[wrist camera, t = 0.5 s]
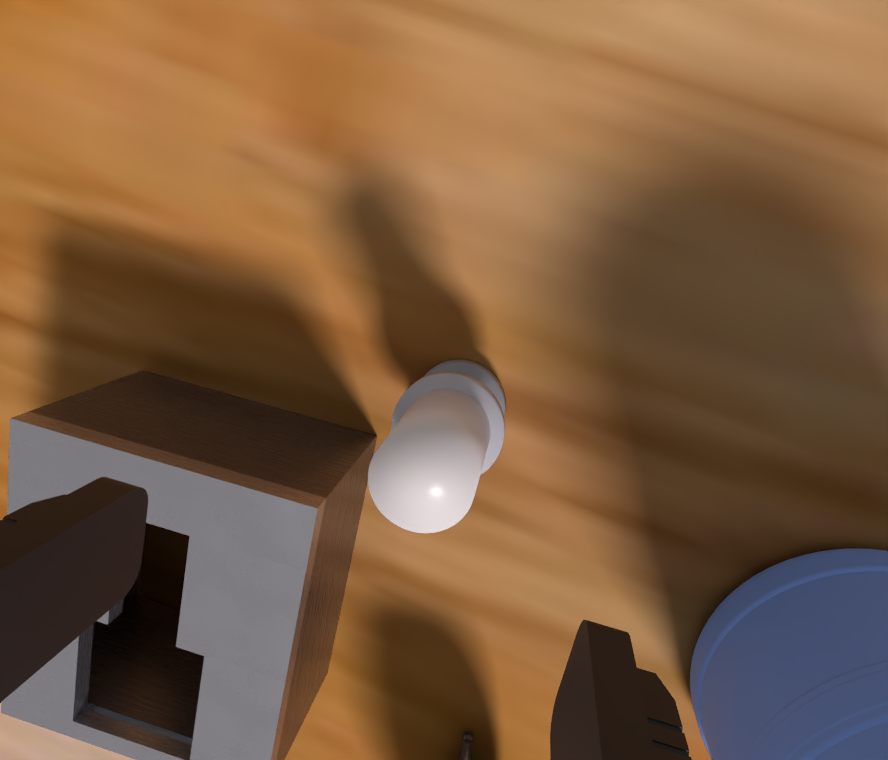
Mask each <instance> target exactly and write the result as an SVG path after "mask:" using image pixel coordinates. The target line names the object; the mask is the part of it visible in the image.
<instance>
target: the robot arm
mask: <svg viewBox="0 0 888 760" xmlns="http://www.w3.org/2000/svg"><path fill="white" fill-rule="evenodd" d="M147 509H148V494H147V492H146V490H145V489H144V488H141V487H138V486H135V485H131V484H128V483H125V482H121V481H118V480H114V479H111V478H108V477H100V478H98V479H96V480H94V481H92V482H90V483H88V484H86V485H85V486H83V487H81V488H79V489H77V490H75V491H73V492H71V493H70V494H68V495H65V494H64V495H60V496H56V497H52V498H48V499H44V500H41V501H37V502H33V503H30V504H28V505H26V506H24V507H22V508H20V509H18V510H16V511H14V512H12V513H10V514H8V515H7V516H5V517H4V518H3V520H2V521H1V520H0V703H1V702H2V701H3V700H4V699H5V698H6V697H8V696H9V695H10V694H11V693H12V692H14V691H15V690H16V689H17V688H18V687H19V686H21V685H22V684H23V683H24V682H25V681H26V680H28V679H29V678H30V677H31V676H32V675H34V674H35V673H36V672H37V671H38V670H39V669H41V668H42V667H43V666H44V665H45V664H46V663H48V662H49V661H50V660H51V659H52V658H54V657H55V656H56V655H57V654H58V653H59V652H61V651H62V650H63V649H64V648H65V647H66V646H68V645H69V644H70V643H71V642H72V641H74V640H75V639H76V638H77V637H78V636H79V635H81V634H82V633H83V632H84V631H85V630H86V629H88V628H89V627H90V626H91V625H92V624H94V623H95V622H96V621H97V620H98V619H99V618H101V617H102V616H103V615H104V614H105V613H106V612H108V611H109V610H110V609H111V608H112V607H114V606H115V605H116V604H117V603H118V602H119V601H121V600H122V599H123V598H124V597H125V596H126V595H127V593H128V592H129V591H130V589H131V588H132V586H133V584H134V582H135V581H136V578H137V576H138V573H139V571H140V567H141V561H142V552H143V544H144V535H145V526H146V517H147ZM682 728H683V727H682V724H681V720H680V717H679V713H678V710H677V706H676V702H675V700H674V698H673V697H672V696H671V694H670V693H669V692H668V690H667V689H666V687H665V686H664V685H663V683H662V682H661V680H660V679H659V678H658V676H657V675H656V673H652V672H649V671H646V670H642V669H639V668H637V667H636V662H635V658H634V653H633V648H632V644H631V639H630V635H629V634H628V633H627V632H625V631H621V630H618V629H614V628H611V627H608V626H604V625H601V624H597V623H594V622H591V621H587V620H583V621H582V623H581V625H580V627H579V629H578V632H577V635H576V638H575V641H574V644H573V647H572V650H571V653H570V656H569V659H568V662H567V665H566V668H565V671H564V675H563V678H562V681H561V684H560V687H559V690H558V693H557V696H556V700H555V704H554V709H553V715H552V722H551V733H550V748H551V760H692V759H691V757H689V749H688V745H687V742H686V738H685V734H684V733H682Z"/></svg>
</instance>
